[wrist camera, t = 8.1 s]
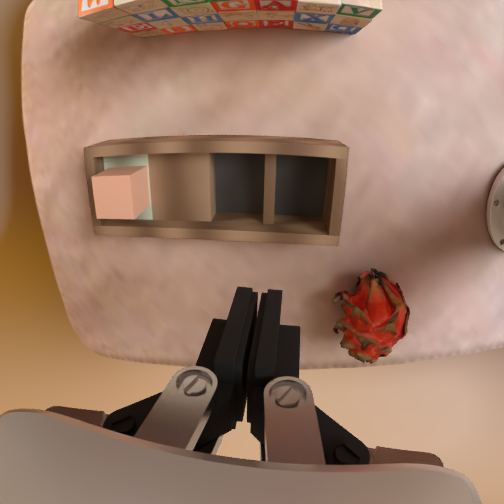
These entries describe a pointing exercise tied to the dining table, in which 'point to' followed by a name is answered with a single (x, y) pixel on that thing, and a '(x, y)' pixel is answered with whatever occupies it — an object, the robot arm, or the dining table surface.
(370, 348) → the dragon fruit
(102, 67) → the dining table surface
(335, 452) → the robot arm
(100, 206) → the terracotta block
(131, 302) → the dining table surface
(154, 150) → the box
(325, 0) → the stack of blocks
